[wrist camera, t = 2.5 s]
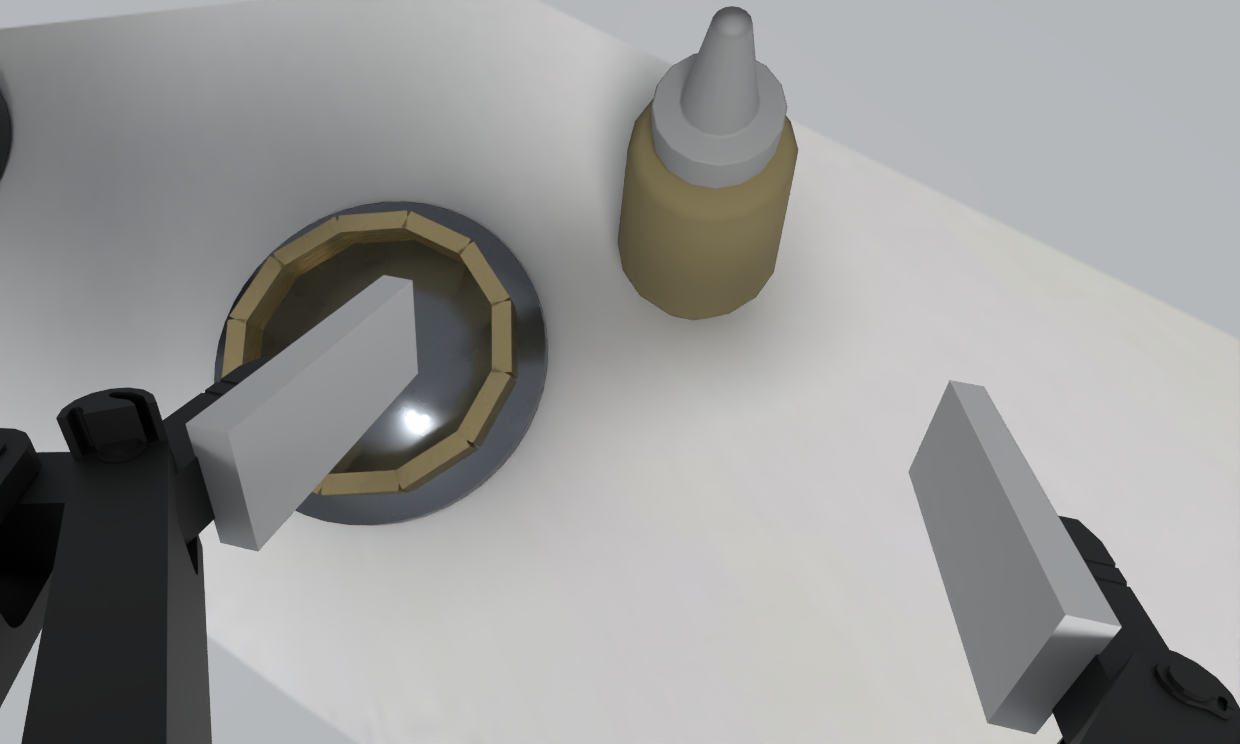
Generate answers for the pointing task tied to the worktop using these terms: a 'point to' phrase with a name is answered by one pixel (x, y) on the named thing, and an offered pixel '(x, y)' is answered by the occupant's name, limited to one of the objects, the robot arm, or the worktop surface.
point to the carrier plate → (445, 341)
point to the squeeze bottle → (708, 178)
